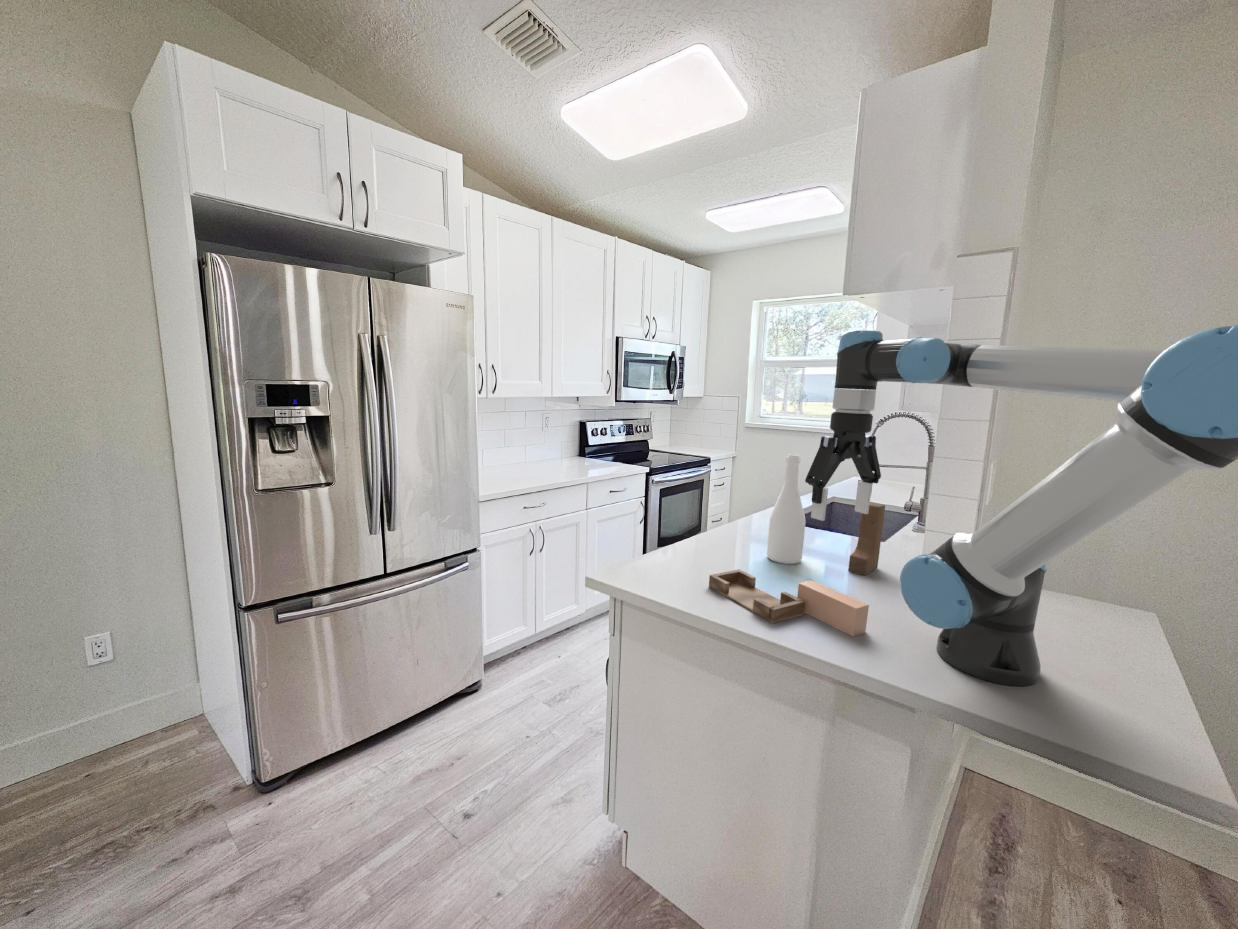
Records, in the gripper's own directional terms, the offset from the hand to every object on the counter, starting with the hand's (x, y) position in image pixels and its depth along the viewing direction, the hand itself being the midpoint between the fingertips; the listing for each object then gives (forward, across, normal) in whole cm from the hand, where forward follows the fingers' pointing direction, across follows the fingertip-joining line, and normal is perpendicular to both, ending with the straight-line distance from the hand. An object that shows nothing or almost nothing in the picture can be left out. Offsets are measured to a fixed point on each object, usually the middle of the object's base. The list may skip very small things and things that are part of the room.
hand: (840, 515), depth 103 cm
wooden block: (+23, -34, -16) cm, 44 cm away
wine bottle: (+23, -20, -31) cm, 43 cm away
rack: (+23, +8, -14) cm, 28 cm away
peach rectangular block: (+23, 0, 0) cm, 23 cm away
